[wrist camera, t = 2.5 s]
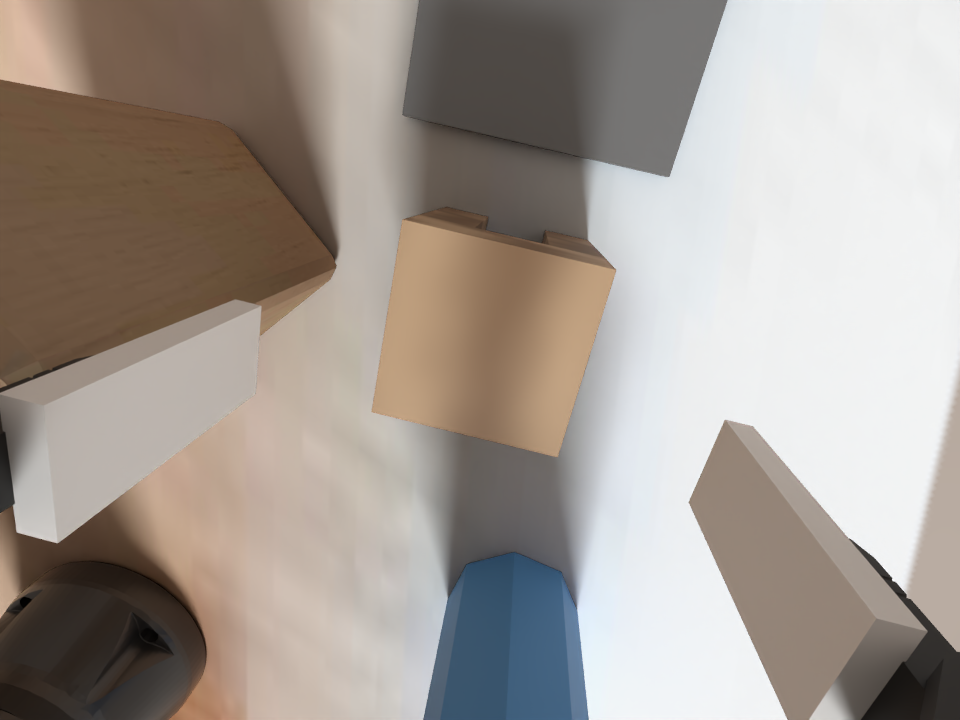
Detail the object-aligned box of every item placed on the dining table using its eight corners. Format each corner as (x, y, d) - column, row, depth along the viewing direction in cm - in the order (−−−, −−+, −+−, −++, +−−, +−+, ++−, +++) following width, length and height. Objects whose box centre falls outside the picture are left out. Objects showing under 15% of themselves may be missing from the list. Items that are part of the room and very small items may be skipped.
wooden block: (117, 227, 30) (-565, 302, 11) (229, 115, 28) (-424, -29, 9) (234, 358, 32) (-180, 603, 14) (349, 266, 30) (30, 412, 11)
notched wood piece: (420, 341, 31) (371, 412, 21) (446, 206, 28) (402, 219, 19) (549, 372, 31) (557, 457, 21) (587, 240, 28) (616, 270, 18)
